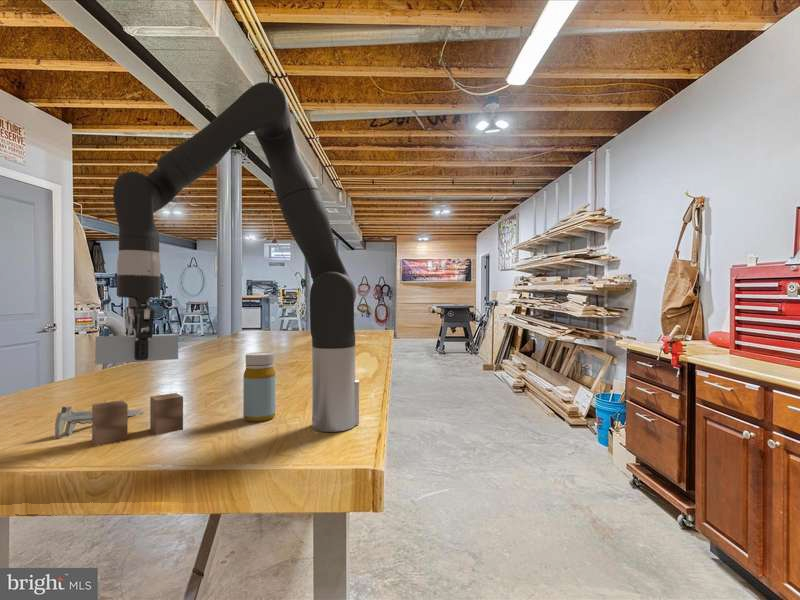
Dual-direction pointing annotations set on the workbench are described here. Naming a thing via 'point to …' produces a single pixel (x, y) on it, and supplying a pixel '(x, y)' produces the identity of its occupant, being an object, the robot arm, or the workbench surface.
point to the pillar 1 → (109, 422)
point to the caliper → (77, 419)
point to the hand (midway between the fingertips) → (138, 358)
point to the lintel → (124, 348)
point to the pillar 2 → (166, 413)
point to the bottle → (259, 387)
